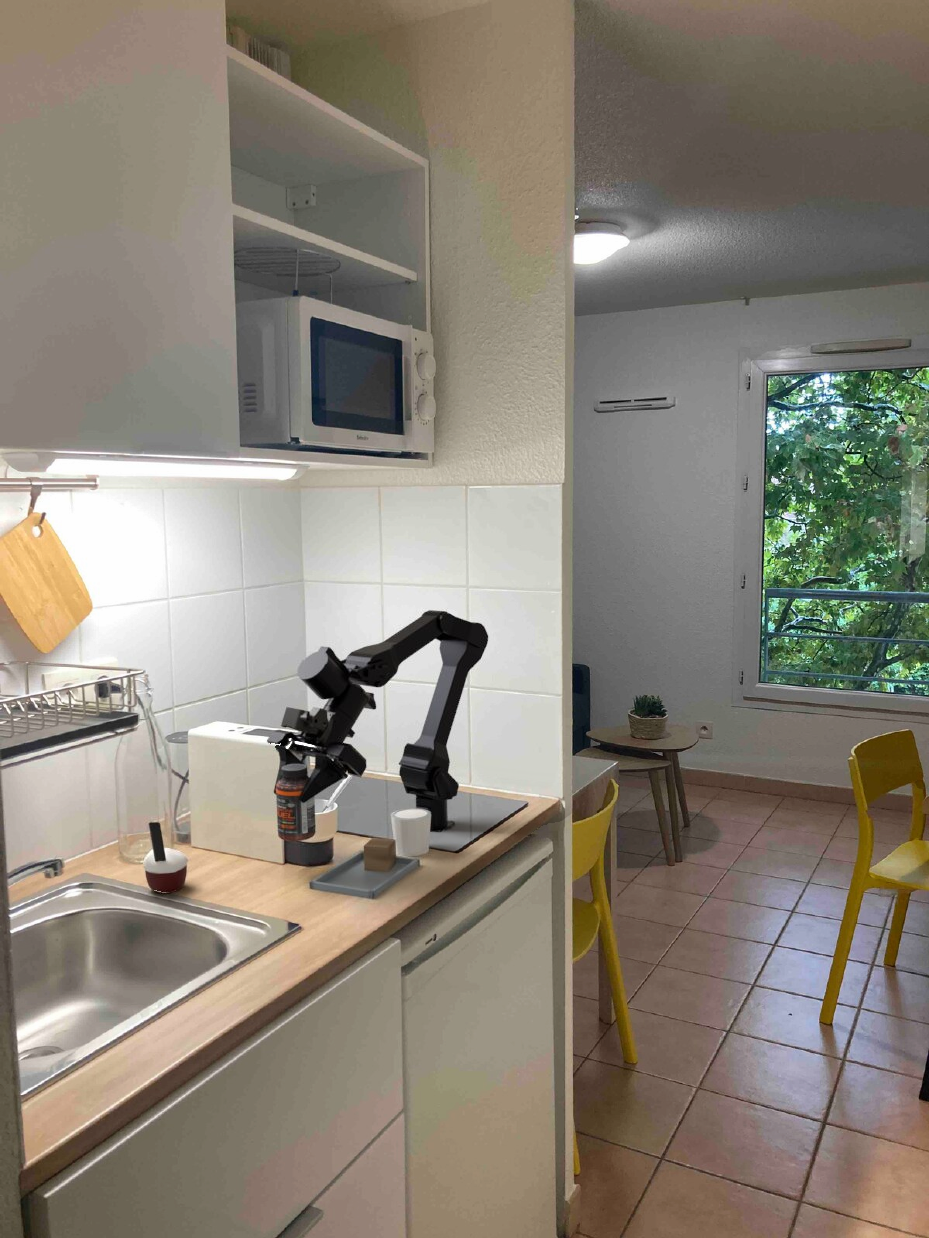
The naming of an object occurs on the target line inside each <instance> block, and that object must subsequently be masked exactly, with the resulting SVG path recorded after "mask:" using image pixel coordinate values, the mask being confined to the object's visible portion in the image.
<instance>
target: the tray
mask: <svg viewBox="0 0 929 1238" xmlns="http://www.w3.org/2000/svg"><path fill="white" fill-rule="evenodd" d="M420 861H421V860H420V858H414V857H410V856H402V855H396V864H395V865H394V866H393V868H392V869H391V870H390V871H389V872H379V871H367V870H364V850H359V851H357V852H356V853H354V854H353V855H351V856H350V857H348V858H346V859H345V860H343V861H341V862H339V863H338V864H336V865H335V866H333V867H332V868H329V870H326V871H325V872H323V873H322V874H320V875H318V876H317V877H315V878H313V879H311V880H310V881H309V882H308V883H309V885H308V886H309V889H310V890H315V891H321V892H327V893H335V894H340V895H347V896H351V897H357V898H364V899H371V900H373V899H375V898H376V897H378V896H379V895H380V894H382V893H383V892H385V891H386V890H388V889H389V888H390V887H391V886H393V885H394V884H396V883H397V882H399V880H402V878H404V877H405V876H406V875H408V874H410V873H411V872H413V871H414V870H416V869H417V868H418V867H420V865H421V864H420V863H421V862H420Z"/></svg>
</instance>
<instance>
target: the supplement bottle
mask: <svg viewBox="0 0 929 1238" xmlns="http://www.w3.org/2000/svg"><path fill="white" fill-rule="evenodd" d="M304 764H305V763H303V764H289V765H285V766H283V767H282V774H281V775H282V778H281V780H279V781H278V782H277V784H276V783H275V784H276V794H275V797H276V801H275V802H276V816H277V817H276V821H277V823H276V824H277V836H278V837H279V839H281V840H282V841H286V842H300V841H301V842H302V841H305V840H306V841H307V840H309V839H311V838H313V837H314V836H315V834H316V832H317V831H316V829H317V828H316V806H315V805H316V804H315V803H316V800H315V796H314V797H312V798H311V799H309V800H308V801H306V802H305V803H302V802H301V801H300V800H299V798H300V795H301V793H302V791H303V789H304V787H305V785H306V783H307V781H308V779H309V778H310V776H309V775H308V766H307V765H306V764H305V765H304Z"/></svg>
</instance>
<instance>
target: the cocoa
mask: <svg viewBox="0 0 929 1238" xmlns="http://www.w3.org/2000/svg"><path fill="white" fill-rule="evenodd" d="M161 827H162V826H161V823H160V822H157V821H155V822H153V821H152V822H151V821H150V822H149V823H148V828H149V829H148V830H149V835H150V840H151V846H152V849H151V850H150V851H149V852H148V853H147V854H146V855H145V858H143V863H142V868H143V869H144V873H145V878H146V882H147V884H148V887H149V888H150V889H151V890H152V891H153V890H157V891H161V892H170V893H173V891H174V892H176V891H175V890H177V891H178V890H180V888H181V887H183V886H184V884H185V882H186V879H187V872H188V861H189V859H188V858H187V856H186V855H185V854H184V853H183V852H182V851H179V850H177V849H173V848H169V847H165V844H164V839H163V834H162V828H161Z"/></svg>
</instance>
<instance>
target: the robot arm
mask: <svg viewBox="0 0 929 1238" xmlns="http://www.w3.org/2000/svg"><path fill="white" fill-rule="evenodd" d="M434 640H437V641H439V642H440V644H439V653H440V656H441V661H442V665H441V669H440V671H439V676H438V679H437V682H436V685H435V689H434V691H433V695H432V698H431V702H430V705H429V706H428V707H429V708H428V711H427V714H426V717H425V721H424V725H423V727H422V730H421V734H420V736H419V738H418V739H417V740H416V741H415V742H414V743H405V746H404V747H403V751H402V752H403V753H402V757H401V759H400V761H399V762H398V765H400V766H399V772H398V773H399V777H400V778H401V782H402V784H403V787H404V790H405V793H406V794H408V795H409V794H410V795H414V796H415V808H418V809H425V810H428V811H430V812H431V824H430V832H434V833H441V832H443V831H447V830H449V829H450V828H452V827H453V826H455V825H456V821H454V820H449V819H448V817H449V816H448V815H449V814H448V801H450V800H453V798H454V797H457V796H458V790H459V786H460V784H459V782H458V781H457V780H456V779H455V778H454V777H453V776H452V775H451V774H450V773H449V769H450V763H451V761H450V756H449V752H448V748H447V744H448V741H449V738H450V734H451V731H452V727H453V724H454V721H455V718H456V714H457V710H458V708H459V704H460V701H461V697H462V695H463V691H464V688H465V685H466V682H467V679H468V678H467V677H468V674H469V672H470V670H472V669H473V668H474V667H475V666H476V664H477V663H479V661H481V659H482V657H483V655H484V652H485V651H486V648H487V646H488V642H489V634H488V632H487V629H486V628H485V625H483V624H482V623H480V622H474V621H473V622H471V621H469V620H466V619H463V618H460V617H459V616H458V617H457V616H455V615H453V614H451V613H450V612H448V611H447V610H446V611H444V610H427V611H424V612H423V613H422V614H421V615H420V617H418V618H417V619H415V620H414V621H412V622H411V623H409V624H408V625H406V626H404V627H403V628H401V629H400V630H398V631H397V632H395V633H394V634H393V635H391V636H390V637H388V638H387V639H385V640H384V641H382V642H379V643H375V644H371V645H367V646H363V647H361V648H358V649H356V650H355V649H354V650H353V651H351V652H350V653H349V654H348V655H347V657H345V659H342V660H341V659H340V658H339V657H338V656H337V655H336V654H335V651H334V650H333V649H332V648H331V647H330V646H320V647H319V649H318V650H317V651H315V652H312V653H311V654H309V655H308V656H307V657H306V658H305V659H302V661H301V662H300V663H299V665H298V667H297V673H296V674H297V676H298V678H299V679H300V680H301V681H302V682H303V683H304V684H305V685H306V686H307V688H308V689H310V690H311V691H312V692H313V693H314V695H316V696H317V697H318V698H319V699H320V700H327V701H326V703H325V704H324V706H323V708H322V707H315V706H314V707H312V708H311V710H304V709H300V708H294V707H290V706H286V708H285V710H284V711H285V712H284V714H283V717H282V721H281V724H280V727H282V728H284V729H286V728H288V729H292V730H295V731H297V733H296V734H294V733H293V731H287V730H283V729H277V730H272V731H271V733H270V734H269V736H268V738H267V739H266V743H268V744H269V743H270V744H271V743H275V744H280V743H281V745H280V746H279V745H276V746H275V748H276V750H275V751H276V752H277V753H278V755H279V765H278V766H279V767H278V772H277V774H276V775H277V776H276V779H275V784H274V789H273V793H274V794H275V795H276V784H277V782H278V781H279V780H281V778H282V775H281V774H282V767H283V766H285V765H289V764H304V765H306V764H305V763H303V761H305V760H306V758H307V757H311V758H314V768H313V770H312V772H311V774H310V776H309V779H308V781H307V783H306V785H305V787H304V789H303V791H302V793H301V795H300V798H299V800H300V801H301V802H302V803H305V802H306V801H308V800H309V799H311V798H312V797H314V798H315V797H316V796H317V795H319V794H321V792H323V791H324V790H326V789H328V788H329V787H332V786H333V785H334V784H336V783H339V781H341V780H345V779H346V780H347V778H348V777H349V776H353V777H358V778H362V777H363V774H364V773H365V771H366V770H367V759H366V758H365V757H364V756H363V755H362V754H361V753H360V752H359V751H358V749H356V748H355V747H354V746H353V745H352V744H351V743H346V742H344V741H345V740H346V739H347V738H351V739H352V738H353V737H354V736H355V734H356V732H355V731H354V730H353V727H354V725H355V723H356V722H357V720H358V719H359V717H360V715H361V714H362V712H363V710H364V709H367V710H374V711H375V710H377V702H376V700H375V694H374V692H367V691H366V690H365V689H364V688H363V687H362V686H365V687H372V688H381V687H385V685H387V683H389V682H390V681H391V680H392V678H393V677H394V676H395V675H397V673H398V669H399V667H400V665H401V664H402V663H403V662H405V660H408V658H410V657H411V656H413V655H414V654H415V653H416V654H417V652H418V651H420V650H421V649H423V648H425V646H427V645H429V644H430V643H431V642H433V641H434ZM296 735H297V736H296ZM298 736H299V737H298ZM299 738H301V739H302V740H303V741H302V740H301V739H299ZM270 744H269V745H270ZM452 825H453V826H452ZM451 826H452V827H451ZM448 828H449V829H448Z"/></svg>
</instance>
